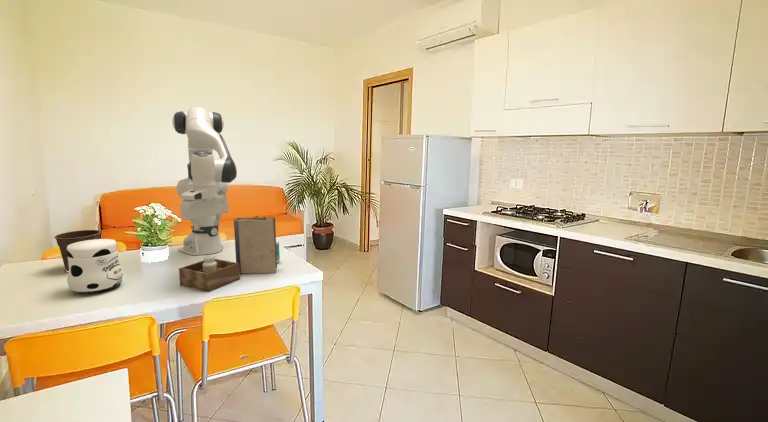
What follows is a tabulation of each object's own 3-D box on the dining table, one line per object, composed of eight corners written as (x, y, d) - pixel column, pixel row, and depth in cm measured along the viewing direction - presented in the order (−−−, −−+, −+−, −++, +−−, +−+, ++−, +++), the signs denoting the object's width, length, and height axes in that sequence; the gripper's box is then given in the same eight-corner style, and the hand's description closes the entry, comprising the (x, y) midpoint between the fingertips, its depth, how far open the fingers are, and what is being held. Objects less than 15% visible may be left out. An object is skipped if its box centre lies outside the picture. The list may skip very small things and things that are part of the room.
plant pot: (50, 275, 168) (45, 238, 165) (72, 264, 183) (67, 230, 181) (93, 273, 171) (89, 237, 168) (111, 262, 186) (107, 229, 184)
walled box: (180, 285, 159) (178, 268, 158) (212, 273, 173) (211, 258, 172) (208, 291, 152) (207, 274, 151) (240, 279, 166) (239, 263, 165)
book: (277, 268, 181) (275, 214, 177) (275, 273, 174) (273, 217, 170) (238, 269, 179) (235, 215, 174) (235, 274, 172) (232, 218, 168)
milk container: (128, 289, 154) (123, 244, 151) (71, 300, 142) (65, 252, 139) (118, 277, 166) (114, 236, 163) (66, 287, 155) (60, 243, 151)
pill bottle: (282, 260, 193) (281, 233, 190) (276, 265, 185) (275, 237, 183) (267, 260, 193) (266, 233, 191) (261, 264, 186) (259, 236, 184)
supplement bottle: (212, 277, 166) (210, 254, 164) (220, 279, 163) (219, 256, 161) (200, 280, 161) (199, 257, 159) (209, 283, 158) (207, 259, 157)
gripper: (220, 189, 167) (222, 221, 169) (176, 195, 149) (179, 231, 151) (231, 190, 164) (233, 223, 167) (188, 196, 146) (190, 233, 148)
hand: (207, 227), depth 159 cm, fingers open, 8 cm apart
